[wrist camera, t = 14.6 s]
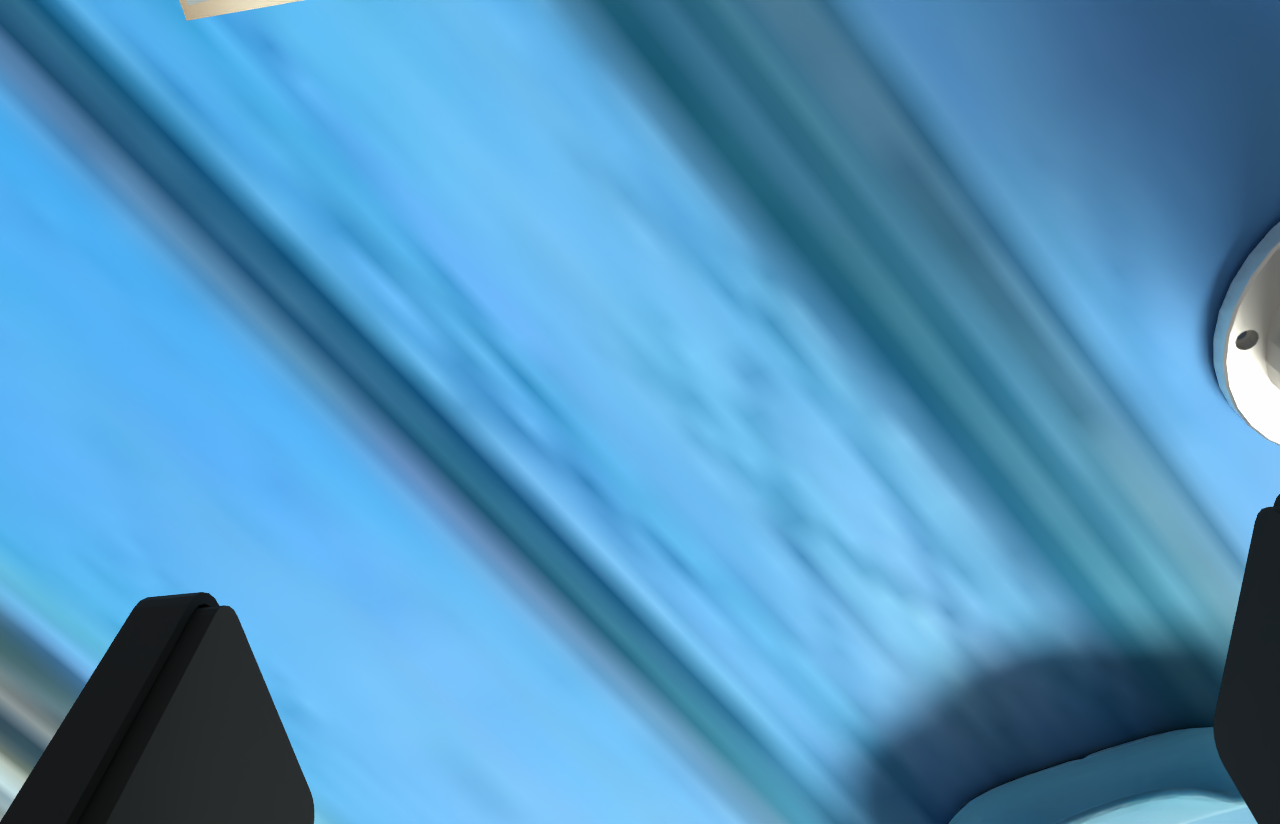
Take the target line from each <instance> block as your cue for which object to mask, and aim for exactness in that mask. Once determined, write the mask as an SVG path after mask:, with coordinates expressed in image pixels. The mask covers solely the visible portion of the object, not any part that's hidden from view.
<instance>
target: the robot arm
mask: <svg viewBox="0 0 1280 824" xmlns="http://www.w3.org/2000/svg"><path fill="white" fill-rule="evenodd" d="M1213 353H1214V368H1215V372H1216V376H1217V379H1218V383H1219V387H1220V389H1221V391H1222V393H1223V394H1224V396H1225V398H1226V399H1227V401H1228V403H1229V405H1230V406H1231V408H1232V409H1233V410H1234V411H1235V412H1236V413H1237V414H1238V415H1239V416H1240V417H1241V418H1242V419H1243V420H1244V421H1245V423H1246V424H1247V425H1248V426H1249V427H1251V428H1252V429H1253V430H1255V431H1256V432H1257V433H1259V434H1260V435H1261V436H1263V437H1264V438H1265V439H1267V440H1269V441H1271V442H1273V443H1275V444H1277V445H1279V446H1280V222H1278V223H1277V224H1276V225H1275V226H1274V227H1273V228H1272V229H1271V230H1270V231H1269V232H1268V233H1267V235H1266V236H1265V237H1264V238H1263V239H1262V240H1261V242H1260V243H1259V244H1258V245H1257V246H1256V247H1255V249H1254V250H1253V251H1252V252H1251V253H1250V254H1249V256H1248V257H1247V259H1246V260H1245V262H1244V264H1243V265H1242V267H1241V268H1240V270H1239V271H1238V273H1237V275H1236V276H1235V278H1234V279H1233V281H1232V283H1231V285H1230V287H1229V289H1228V292H1227V294H1226V297H1225V299H1224V301H1223V304H1222V306H1221V309H1220V311H1219V315H1218V319H1217V324H1216V329H1215V334H1214V339H1213ZM1213 731H1214V740H1215V744H1216V748H1217V751H1218V754H1219V757H1220V759H1221V761H1222V763H1223V765H1224V767H1225V769H1226V770H1227V772H1228V774H1229V776H1230V777H1231V779H1232V781H1233V782H1234V784H1235V786H1236V788H1237V789H1238V791H1239V793H1240V794H1241V796H1242V798H1243V800H1244V801H1245V803H1246V805H1247V806H1248V808H1249V810H1250V811H1251V813H1252V815H1253V817H1254V818H1255V820H1256V822H1257V823H1258V824H1280V494H1279V496H1278V497H1277V498H1276V500H1275V503H1274V506H1273V507H1267V508H1264V509H1262V510H1261V511H1260V512H1259V513H1258V515H1257V518H1256V521H1255V525H1254V530H1253V534H1252V539H1251V544H1250V549H1249V553H1248V558H1247V563H1246V568H1245V573H1244V577H1243V582H1242V587H1241V592H1240V597H1239V601H1238V606H1237V611H1236V616H1235V621H1234V625H1233V630H1232V635H1231V640H1230V645H1229V649H1228V654H1227V659H1226V664H1225V668H1224V673H1223V678H1222V683H1221V688H1220V692H1219V697H1218V702H1217V707H1216V712H1215V716H1214V724H1213ZM0 824H314V804H313V798H312V795H311V792H310V789H309V787H308V784H307V782H306V780H305V777H304V775H303V772H302V770H301V768H300V765H299V763H298V760H297V758H296V756H295V753H294V751H293V748H292V746H291V744H290V741H289V739H288V736H287V734H286V732H285V729H284V727H283V724H282V722H281V720H280V717H279V715H278V712H277V710H276V708H275V705H274V703H273V700H272V698H271V696H270V693H269V691H268V688H267V686H266V684H265V681H264V679H263V676H262V674H261V672H260V669H259V667H258V664H257V662H256V659H255V657H254V655H253V652H252V650H251V647H250V645H249V643H248V640H247V638H246V635H245V633H244V631H243V628H242V626H241V623H240V621H239V619H238V616H237V615H236V613H235V611H234V610H233V609H232V608H231V607H230V606H219V604H218V603H217V601H216V599H215V598H214V597H213V596H211V595H210V594H209V593H204V592H199V593H189V594H178V595H168V596H157V597H147V598H145V599H143V600H141V601H140V602H139V603H138V604H137V605H136V606H135V607H134V609H133V610H132V612H131V613H130V615H129V617H128V618H127V620H126V621H125V623H124V625H123V626H122V628H121V629H120V631H119V633H118V634H117V636H116V637H115V639H114V641H113V642H112V644H111V645H110V647H109V649H108V650H107V652H106V653H105V655H104V657H103V658H102V660H101V661H100V663H99V665H98V666H97V668H96V669H95V671H94V673H93V674H92V676H91V677H90V679H89V681H88V682H87V684H86V685H85V687H84V689H83V690H82V692H81V693H80V695H79V697H78V698H77V700H76V701H75V703H74V705H73V706H72V708H71V709H70V711H69V713H68V714H67V716H66V717H65V719H64V721H63V722H62V724H61V725H60V727H59V729H58V730H57V732H56V733H55V735H54V737H53V738H52V740H51V741H50V743H49V745H48V746H47V748H46V750H45V751H44V753H43V754H42V756H41V758H40V759H39V761H38V762H37V764H36V766H35V767H34V769H33V770H32V772H31V774H30V775H29V777H28V778H27V780H26V782H25V783H24V785H23V786H22V788H21V790H20V791H19V793H18V794H17V796H16V798H15V799H14V801H13V802H12V804H11V806H10V807H9V809H8V810H7V812H6V814H5V815H4V817H3V818H2V820H1V822H0Z"/></svg>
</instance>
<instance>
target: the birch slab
mask: <svg viewBox="0 0 1280 824" xmlns="http://www.w3.org/2000/svg"><path fill="white" fill-rule="evenodd" d="M179 1H180V3H181V6H182V9H183V11H184V14H185V17H186V20H193V19H198V18H204V17H210V16H216V15H221V14H227V13H233V12H239V11H244V10H250V9H256V8H262V7H267V6H273V5H279V4H285V3H290V2H296V1H302V0H209V1H205V2H201V3H197V4H193V5H189V6H188V4H187V2H186V0H179Z"/></svg>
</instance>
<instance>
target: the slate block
mask: <svg viewBox="0 0 1280 824" xmlns="http://www.w3.org/2000/svg"><path fill="white" fill-rule="evenodd" d="M205 1H209V0H186V2H187V4H188V6H189V5H193V4H197V3H201V2H205Z"/></svg>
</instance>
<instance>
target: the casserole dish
mask: <svg viewBox="0 0 1280 824" xmlns="http://www.w3.org/2000/svg"><path fill="white" fill-rule="evenodd" d="M948 824H1258V823H1257V822H1256V820H1255V818H1254V817H1253V815H1252V813H1251V811H1250V810H1249V808H1248V806H1247V805H1246V803H1245V801H1244V800H1243V798H1242V796H1241V794H1240V793H1239V791H1238V789H1237V788H1236V786H1235V784H1234V782H1233V781H1232V779H1231V777H1230V776H1229V774H1228V772H1227V770H1226V769H1225V767H1224V765H1223V763H1222V761H1221V759H1220V757H1219V754H1218V751H1217V748H1216V744H1215V740H1214V731H1213V727H1205V728H1189V729H1181V730H1174V731H1170V732H1166V733H1161V734H1157V735H1152V736H1149V737H1145V738H1142V739H1138V740H1135V741H1132V742H1128V743H1125V744H1121V745H1118V746H1115V747H1111V748H1108V749H1105V750H1101V751H1098V752H1096V753H1093V754H1090V755H1088V756H1086V757H1085V758H1084V759H1079V760H1073V761H1069V762H1066V763H1063V764H1060V765H1057V766H1054V767H1051V768H1048V769H1045V770H1042V771H1039V772H1036V773H1033V774H1030V775H1027V776H1024V777H1021V778H1019V779H1016V780H1013V781H1011V782H1008V783H1006V784H1003V785H1001V786H998V787H996V788H994V789H991V790H989V791H987V792H985V793H984V794H982V795H980V796H978V797H976V798H974V799H973V800H971V801H970V802H968V803H967V804H966V805H965V806H964V807H963V808H962V809H961V810H960V811H959V812H958V813H957V814H956V815H955V816H954V817H953V818H952V820H951V821H950V822H949V823H948Z"/></svg>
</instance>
